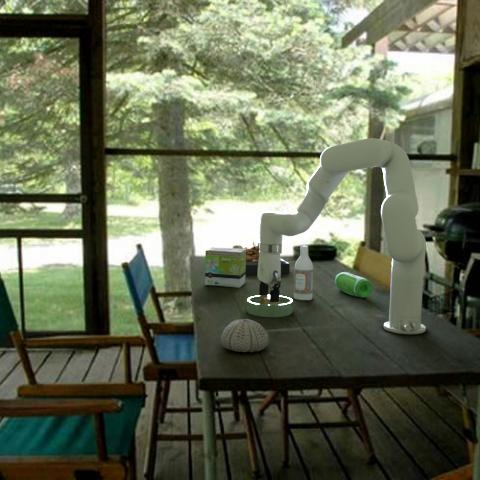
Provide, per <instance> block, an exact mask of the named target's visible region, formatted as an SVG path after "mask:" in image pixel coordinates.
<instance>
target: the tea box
mask: <svg viewBox="0 0 480 480" xmlns="http://www.w3.org/2000/svg"><path fill="white" fill-rule="evenodd" d="M204 261H205V262H204V263H205V264H204V285H205V286H219V287H229V288H237V289H239V288H241V287H242V286H243V285H245V283H246V274H245V269H246V249H232V248H231V247H213V246H212V247H211V248H208V249H206V250H205V259H204Z"/></svg>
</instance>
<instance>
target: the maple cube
mask: <svg viewBox="0 0 480 480" xmlns="http://www.w3.org/2000/svg"><path fill="white" fill-rule="evenodd" d="M268 295H269V296H261V304H263V305H280V298H279V302H270V294H268Z"/></svg>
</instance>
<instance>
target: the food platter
mask: <svg viewBox="0 0 480 480" xmlns="http://www.w3.org/2000/svg"><path fill="white" fill-rule="evenodd" d="M259 244H260V242H258V243H257V245H255V241H253V242H252V247H250V248H248V247H247V246H245V247H243V246H242V245H239V244H236V245H232V249H246V269H245V275H258V261H259V254H260V253H259ZM280 260H281V274H290V271H291V269H290V268H291V265H290V264H291V263H289V262H288V261H286V260H284V259H282V258H280Z"/></svg>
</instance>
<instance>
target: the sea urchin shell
mask: <svg viewBox="0 0 480 480" xmlns="http://www.w3.org/2000/svg"><path fill="white" fill-rule="evenodd" d="M270 340H271V339H270V336H269V333H268V331H267V330H266V329H265V328H264V327H263V326H262V325H261V323H259V322H258V321H255V320H251V319H249V318H242V319H235V320H232V321H231V322H230V323H229V324H227V325H226V327H224V330H223V331H222V333H221V335H220V344H221V345H222V347H224V348H225V349H227V350H230V351H233V352H235V353H236V352H238V353H240V352H242V353H247V352H249V353H255V352H260V351H262V350H264V349H265V348H267V347H268V345H269V344H270Z"/></svg>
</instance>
